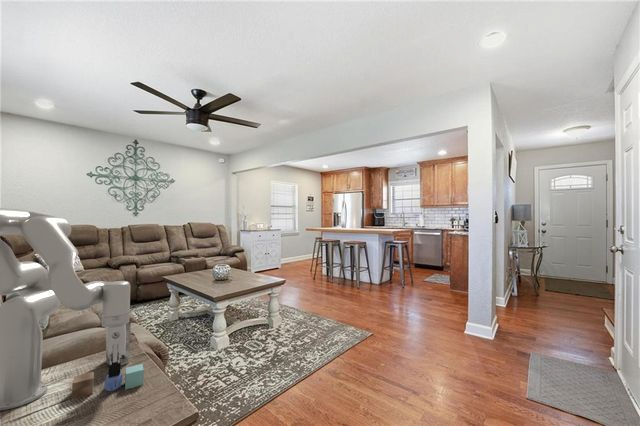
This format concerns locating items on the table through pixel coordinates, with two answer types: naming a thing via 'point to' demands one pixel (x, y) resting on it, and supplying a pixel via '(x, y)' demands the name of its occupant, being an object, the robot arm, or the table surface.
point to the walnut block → (82, 385)
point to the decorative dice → (113, 382)
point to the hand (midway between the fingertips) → (114, 375)
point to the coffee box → (125, 358)
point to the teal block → (134, 376)
